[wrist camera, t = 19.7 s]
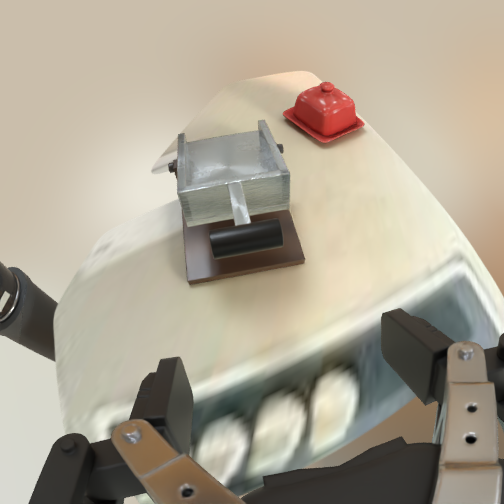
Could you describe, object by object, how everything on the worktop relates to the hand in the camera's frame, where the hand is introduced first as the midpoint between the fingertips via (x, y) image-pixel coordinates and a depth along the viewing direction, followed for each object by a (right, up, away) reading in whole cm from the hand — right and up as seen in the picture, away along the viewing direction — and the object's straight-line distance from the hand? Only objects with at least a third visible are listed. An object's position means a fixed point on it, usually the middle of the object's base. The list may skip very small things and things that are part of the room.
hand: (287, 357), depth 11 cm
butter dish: (+12, +27, +42) cm, 51 cm away
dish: (-3, +10, +21) cm, 24 cm away
